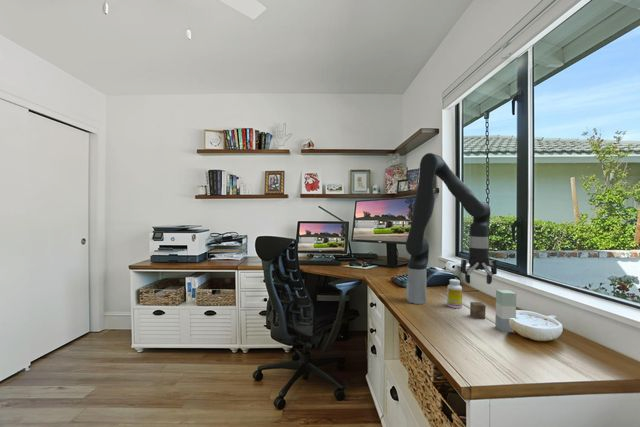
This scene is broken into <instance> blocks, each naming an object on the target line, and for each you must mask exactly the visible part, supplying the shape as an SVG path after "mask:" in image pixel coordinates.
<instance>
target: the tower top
mask: <svg viewBox="0 0 640 427" xmlns="http://www.w3.org/2000/svg"><path fill="white" fill-rule="evenodd" d="M496 302H497V303H498V304H500V305H502V306H514V307H516V308H517V293H515V292H514V291H512V290H509V289H495V303H496Z"/></svg>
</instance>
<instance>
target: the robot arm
mask: <svg viewBox="0 0 640 427" xmlns="http://www.w3.org/2000/svg"><path fill="white" fill-rule="evenodd" d="M418 175H419V176H418V184H417V188H416V196H415V200H414V206H413V211H412V217H411V223H410V228H409V232H408V236H407V238H406V243H405V249H406V252H407V253H408V254H409V255H410V258H409V260H408V262H407V281H406V291H405V292H406V296H405V297H406V298H405V299H406V301H407V303H409V304H410V303H411V304H414V305H425V304H426V303H427V271H428V270H427V268H428V267H427V266H428V263H429V256H430V255H429V252H430V249H429V248H430V247H429V242H428V239H426V238H425V236H424V235H425V231H426V228H427V227H428V223H429V222H430V219H431V217H432V215H433V211H434V207H435V201H436V200H435V190H434V178H435V176H436V177H438V178H439V179H440V180H441V181H442V182H443V183H444V184H445V186H446V188H447V189H448V191H449V192H450V193H451V195H452V196H453V197H455V199H456V200H457V201H458V202H459V203H460V204H461V206H462V207H463V208H464V210H465V211H466V212H467V214H468V215H470V216H471V217H473V218H472V219H473V220H472V223H471V224H470V226H469V240H468V243H469V244H468V259H464V258H462V259H461V260H460V273H462V274H464V275H465V276H464V280H465V282H466V284H468V285H469V284H471V273H472V272H474V271H479V270H480V271H484V272H485V273H486V284H488V285H491V283H493V276H494V275H498V271H497V270H498V268H497V260H494V259H489V248H490V245H489V243H490V242H489V223H490V219H491V206H490V205H489V203H487V202H485V201H480V200H479V199H478V198H477V197H476V196H475V193H474V191H473V190H472V189H471V188H470V187H469V186H468V185H467V184H465V183H464V182H463V181H462V180H461V179H460V177H458V176H457V175H456V174H455V173H454V172H453V170H452V169H451V168H450V166H449V165H448V163H446V161H445V159H444V158H443V157H442V156H440V155H438V154H436V153H432V152H428V153H425V154H424V155H423V156H422V157H421V160H420V163H419V172H418ZM468 264H469V266H467V265H468ZM488 265H490V268H489V267H488ZM466 266H467V267H466Z"/></svg>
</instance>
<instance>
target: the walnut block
mask: <svg viewBox="0 0 640 427" xmlns="http://www.w3.org/2000/svg"><path fill="white" fill-rule="evenodd" d="M469 303H470V304H469V309H470V310H469V312H470V313H469V316H471V318H473V319H476V320H486V305H485V304H484V303H483V302H481V301H470V302H469Z"/></svg>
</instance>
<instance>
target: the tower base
mask: <svg viewBox="0 0 640 427" xmlns="http://www.w3.org/2000/svg"><path fill="white" fill-rule="evenodd" d="M494 324H495V328H497V330H499V331H500V332H502V333H515V332H514V331H513V330H512V329H511V328H510V326H509V319H502V318H500V317H499V316H497V315H496V314H495V323H494Z"/></svg>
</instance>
